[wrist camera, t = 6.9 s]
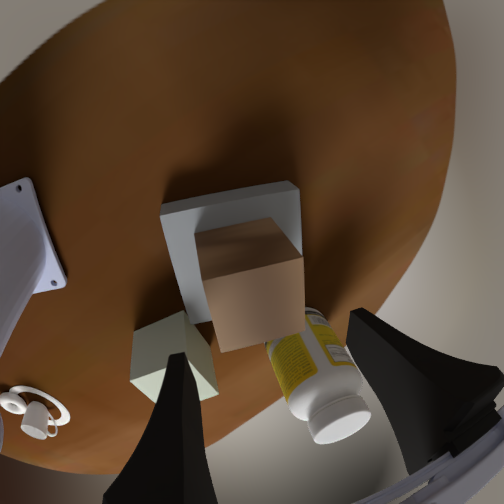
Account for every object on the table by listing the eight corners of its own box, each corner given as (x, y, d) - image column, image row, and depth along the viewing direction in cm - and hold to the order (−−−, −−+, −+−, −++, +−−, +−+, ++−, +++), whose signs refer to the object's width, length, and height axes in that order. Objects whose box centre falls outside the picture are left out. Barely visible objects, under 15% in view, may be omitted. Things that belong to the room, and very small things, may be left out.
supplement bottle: (264, 359, 26) (301, 457, 17) (259, 314, 23) (303, 424, 15) (323, 343, 27) (372, 431, 18) (325, 297, 24) (390, 391, 15)
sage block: (164, 364, 24) (166, 411, 20) (133, 330, 22) (129, 380, 17) (210, 346, 24) (219, 394, 20) (183, 309, 22) (187, 359, 17)
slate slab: (188, 302, 22) (190, 324, 20) (161, 201, 18) (159, 215, 16) (291, 279, 23) (303, 298, 21) (285, 178, 19) (299, 188, 17)
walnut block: (209, 296, 19) (221, 352, 15) (193, 233, 17) (201, 281, 13) (276, 280, 20) (305, 330, 15) (270, 217, 18) (303, 257, 13)
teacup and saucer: (-2, 394, 22) (-10, 420, 19) (13, 368, 21) (2, 398, 18) (57, 428, 27) (53, 454, 23) (81, 408, 25) (77, 439, 22)
